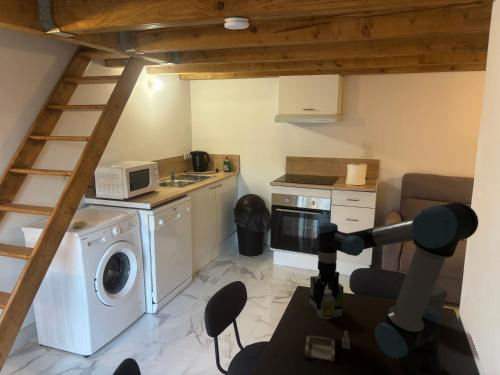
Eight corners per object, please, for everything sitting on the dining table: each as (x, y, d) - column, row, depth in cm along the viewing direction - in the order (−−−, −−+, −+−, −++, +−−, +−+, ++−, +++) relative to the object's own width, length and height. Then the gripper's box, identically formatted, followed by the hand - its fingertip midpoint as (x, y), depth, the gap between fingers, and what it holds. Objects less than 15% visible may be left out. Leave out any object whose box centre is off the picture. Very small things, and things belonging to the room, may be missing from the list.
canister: (402, 332, 160) (407, 285, 157) (396, 312, 178) (400, 269, 174) (448, 338, 156) (454, 290, 153) (438, 317, 173) (442, 274, 170)
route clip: (349, 340, 153) (349, 331, 153) (349, 349, 147) (350, 339, 146) (341, 339, 154) (342, 330, 153) (342, 347, 148) (342, 338, 147)
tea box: (308, 304, 184) (309, 275, 181) (326, 301, 187) (328, 273, 184) (323, 319, 170) (325, 288, 167) (342, 316, 173) (344, 286, 170)
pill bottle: (315, 317, 155) (316, 292, 154) (320, 311, 161) (321, 286, 159) (330, 320, 152) (331, 295, 151) (334, 314, 158) (335, 289, 156)
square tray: (306, 340, 152) (306, 335, 152) (334, 344, 150) (334, 338, 149) (304, 356, 141) (304, 350, 141) (334, 361, 139) (334, 354, 139)
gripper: (335, 253, 162) (333, 304, 165) (304, 262, 151) (302, 317, 154) (349, 258, 156) (347, 310, 159) (318, 268, 145) (316, 324, 148)
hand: (325, 313), depth 156 cm, fingers closed on pill bottle, 6 cm apart
